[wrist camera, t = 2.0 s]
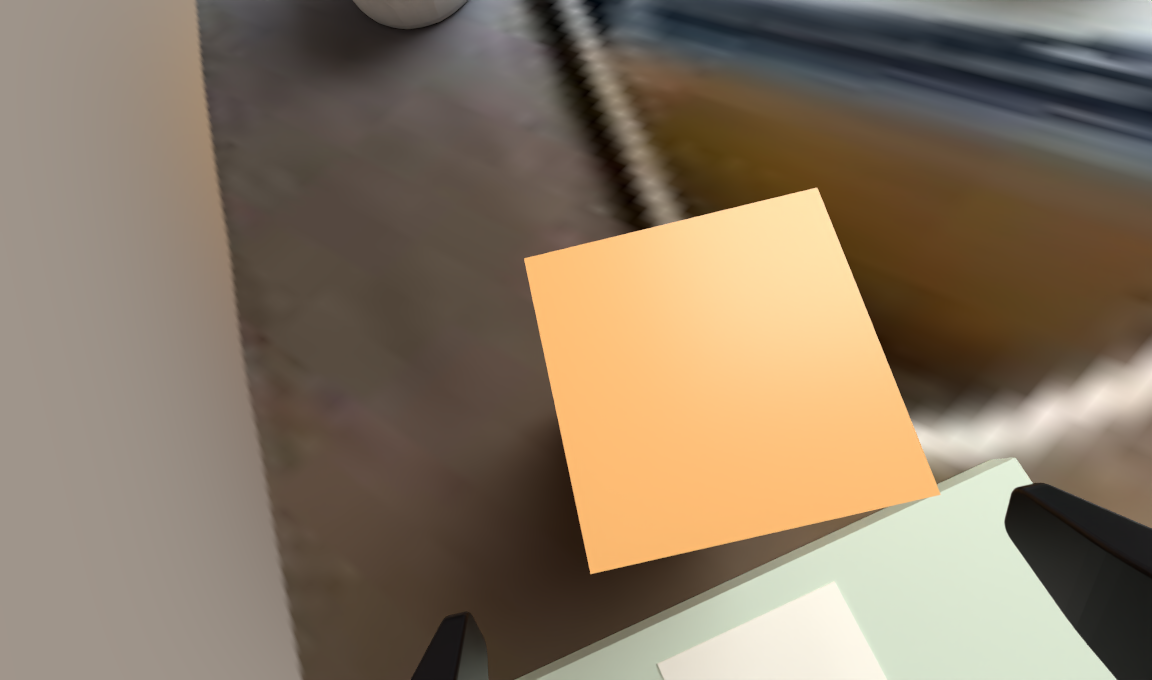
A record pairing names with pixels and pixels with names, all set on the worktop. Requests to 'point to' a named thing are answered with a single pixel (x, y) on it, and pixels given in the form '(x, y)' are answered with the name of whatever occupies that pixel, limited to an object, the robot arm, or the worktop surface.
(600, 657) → the board
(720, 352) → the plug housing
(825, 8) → the worktop surface
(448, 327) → the worktop surface
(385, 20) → the cupcake
